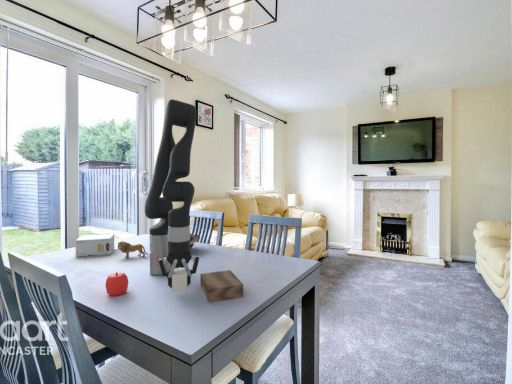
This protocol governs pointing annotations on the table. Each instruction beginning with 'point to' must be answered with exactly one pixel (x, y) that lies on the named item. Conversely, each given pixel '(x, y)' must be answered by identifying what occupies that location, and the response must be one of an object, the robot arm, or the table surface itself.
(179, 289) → the cream block
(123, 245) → the lion figurine
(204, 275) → the walnut plinth
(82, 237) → the supplement box
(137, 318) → the table surface
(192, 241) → the dark brown round bowl
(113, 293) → the apple
